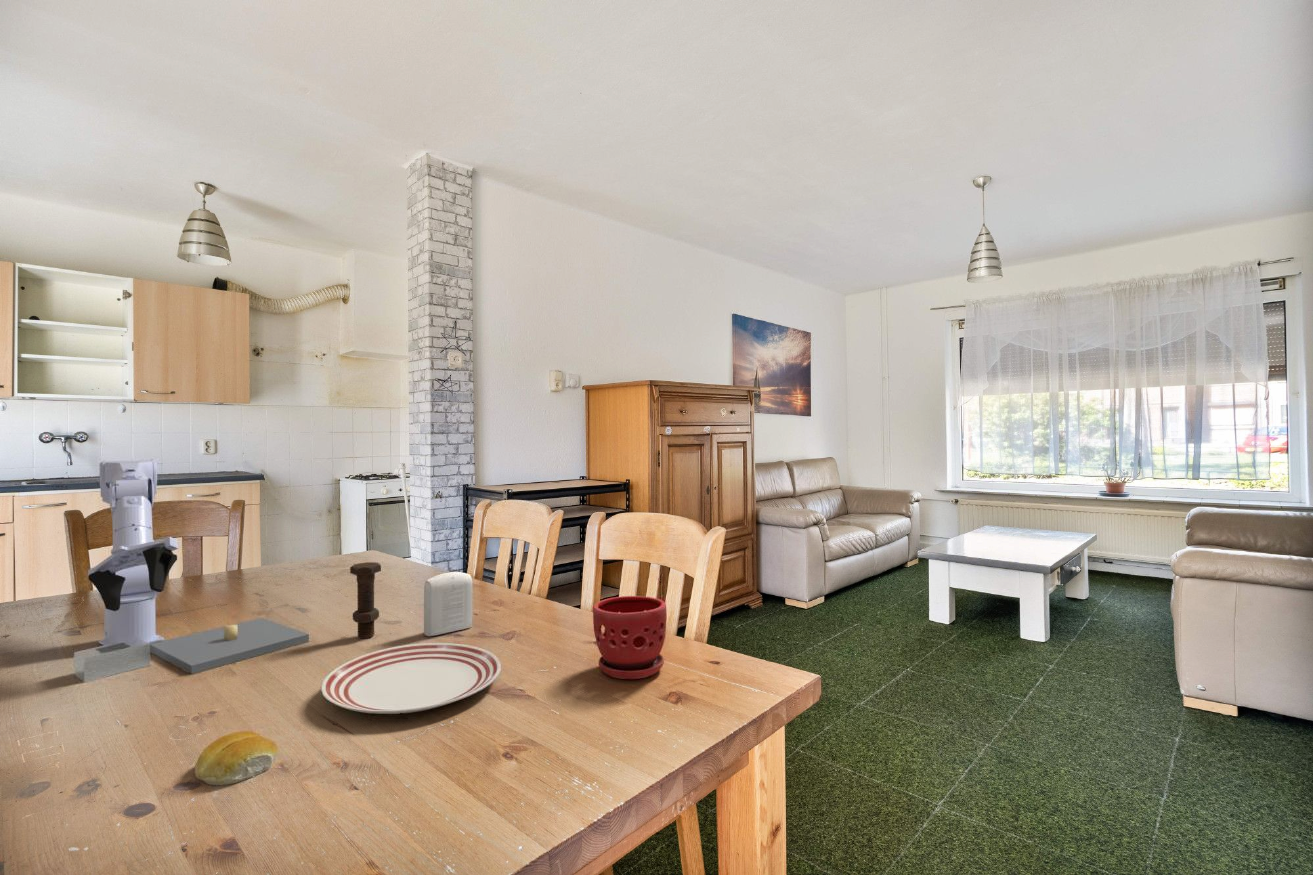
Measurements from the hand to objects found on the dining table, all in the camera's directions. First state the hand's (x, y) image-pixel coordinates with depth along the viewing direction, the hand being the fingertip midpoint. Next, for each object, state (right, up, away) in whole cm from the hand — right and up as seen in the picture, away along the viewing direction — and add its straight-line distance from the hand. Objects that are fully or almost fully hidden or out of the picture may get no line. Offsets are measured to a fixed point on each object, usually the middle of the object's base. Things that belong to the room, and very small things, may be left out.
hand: (134, 599), depth 108 cm
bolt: (+32, -13, +18) cm, 39 cm away
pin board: (+8, -13, +13) cm, 20 cm away
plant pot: (+88, -13, +1) cm, 89 cm away
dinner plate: (+53, -13, -7) cm, 55 cm away
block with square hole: (-4, -13, +1) cm, 14 cm away
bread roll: (+40, -13, -31) cm, 52 cm away
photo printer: (+48, -13, +22) cm, 55 cm away
